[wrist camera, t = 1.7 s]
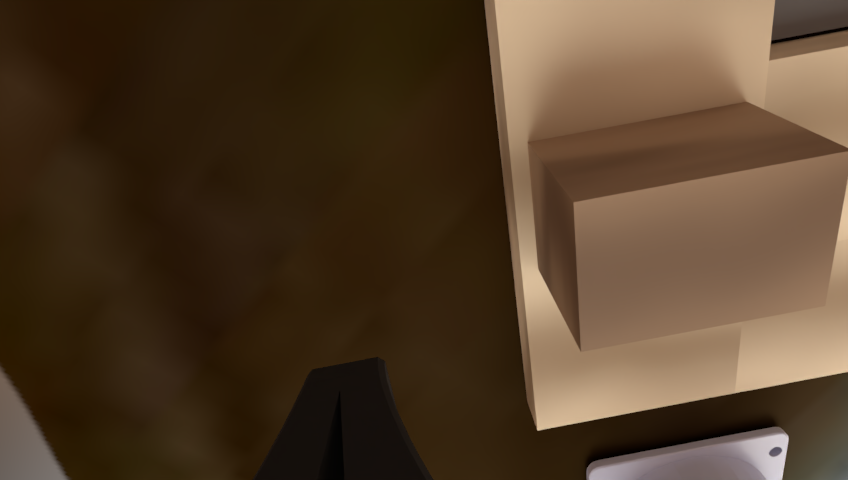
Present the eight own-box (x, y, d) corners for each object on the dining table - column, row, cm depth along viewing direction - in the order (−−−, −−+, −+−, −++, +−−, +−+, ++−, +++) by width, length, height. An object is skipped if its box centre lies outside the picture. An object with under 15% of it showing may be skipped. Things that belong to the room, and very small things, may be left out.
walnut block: (735, 231, 18) (825, 305, 15) (538, 269, 18) (580, 352, 15) (746, 101, 16) (853, 150, 13) (527, 142, 16) (573, 202, 13)
